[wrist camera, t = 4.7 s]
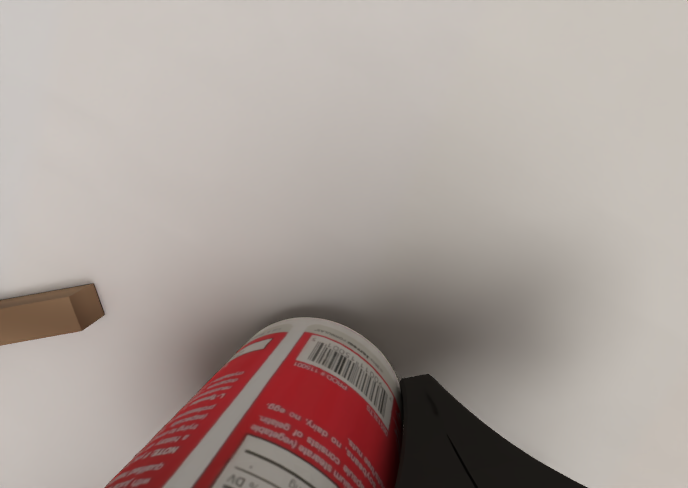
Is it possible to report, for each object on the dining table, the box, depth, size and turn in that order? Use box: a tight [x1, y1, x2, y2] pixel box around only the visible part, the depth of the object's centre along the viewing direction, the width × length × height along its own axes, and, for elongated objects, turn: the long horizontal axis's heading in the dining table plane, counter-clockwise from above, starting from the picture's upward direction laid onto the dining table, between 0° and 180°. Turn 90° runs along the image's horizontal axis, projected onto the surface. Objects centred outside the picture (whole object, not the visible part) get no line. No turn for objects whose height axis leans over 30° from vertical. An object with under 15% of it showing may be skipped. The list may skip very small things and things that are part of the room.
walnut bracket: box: [0, 284, 104, 345], centre depth 13 cm, size 10×9×1 cm
